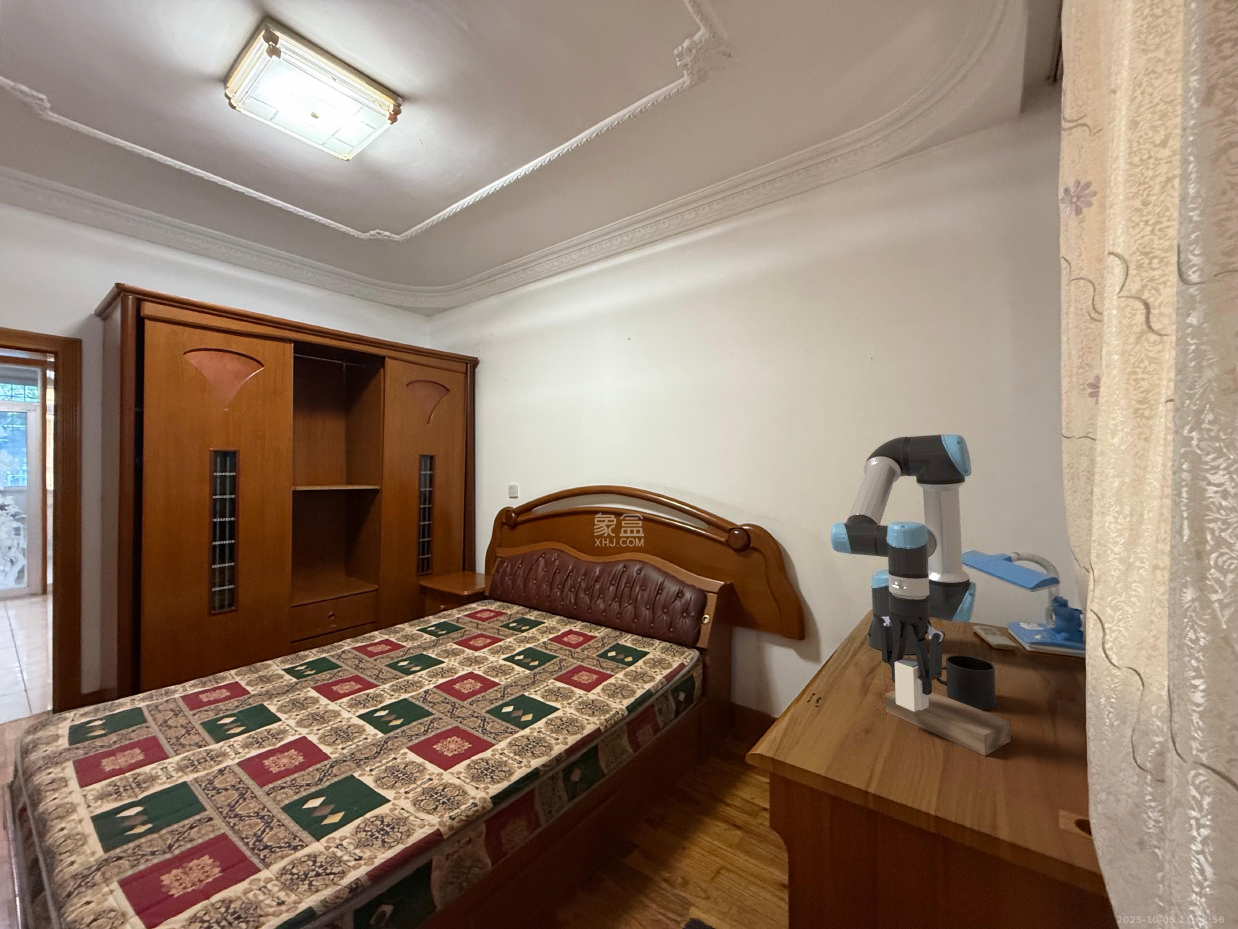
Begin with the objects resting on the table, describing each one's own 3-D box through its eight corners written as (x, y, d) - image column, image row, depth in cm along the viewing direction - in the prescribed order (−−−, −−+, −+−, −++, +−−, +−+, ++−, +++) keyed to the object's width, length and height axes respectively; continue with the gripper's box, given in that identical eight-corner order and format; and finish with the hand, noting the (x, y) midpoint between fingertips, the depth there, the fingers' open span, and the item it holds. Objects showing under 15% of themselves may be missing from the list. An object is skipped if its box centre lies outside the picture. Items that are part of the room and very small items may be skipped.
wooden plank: (911, 700, 116) (911, 683, 116) (1010, 741, 98) (1010, 721, 99) (885, 711, 111) (885, 694, 111) (984, 756, 94) (984, 735, 94)
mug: (936, 685, 123) (935, 649, 124) (996, 698, 116) (995, 660, 116) (932, 700, 116) (930, 662, 116) (995, 715, 109) (994, 674, 109)
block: (909, 698, 107) (908, 655, 107) (928, 705, 104) (926, 662, 104) (895, 703, 105) (894, 660, 105) (914, 711, 102) (913, 667, 102)
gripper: (861, 588, 110) (864, 691, 110) (940, 607, 95) (944, 726, 95) (881, 584, 114) (884, 684, 114) (961, 601, 99) (965, 716, 99)
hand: (911, 703), depth 105 cm, fingers closed on block, 4 cm apart
